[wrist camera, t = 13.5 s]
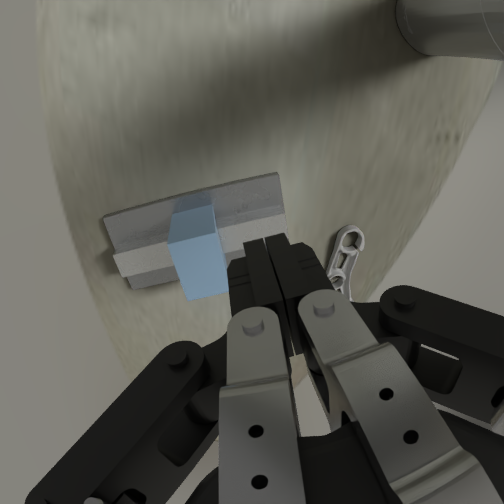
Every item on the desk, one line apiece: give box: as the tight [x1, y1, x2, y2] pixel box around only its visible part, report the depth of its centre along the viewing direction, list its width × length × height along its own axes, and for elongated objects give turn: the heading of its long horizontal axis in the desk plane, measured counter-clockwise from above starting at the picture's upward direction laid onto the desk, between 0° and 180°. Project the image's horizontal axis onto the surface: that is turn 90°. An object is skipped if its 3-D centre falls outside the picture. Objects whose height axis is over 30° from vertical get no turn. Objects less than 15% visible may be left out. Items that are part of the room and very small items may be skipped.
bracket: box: [326, 225, 364, 302], centre depth 43 cm, size 8×2×15 cm
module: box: [167, 204, 229, 301], centre depth 33 cm, size 4×7×7 cm
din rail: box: [103, 172, 289, 290], centre depth 35 cm, size 20×10×4 cm, turn 100°
